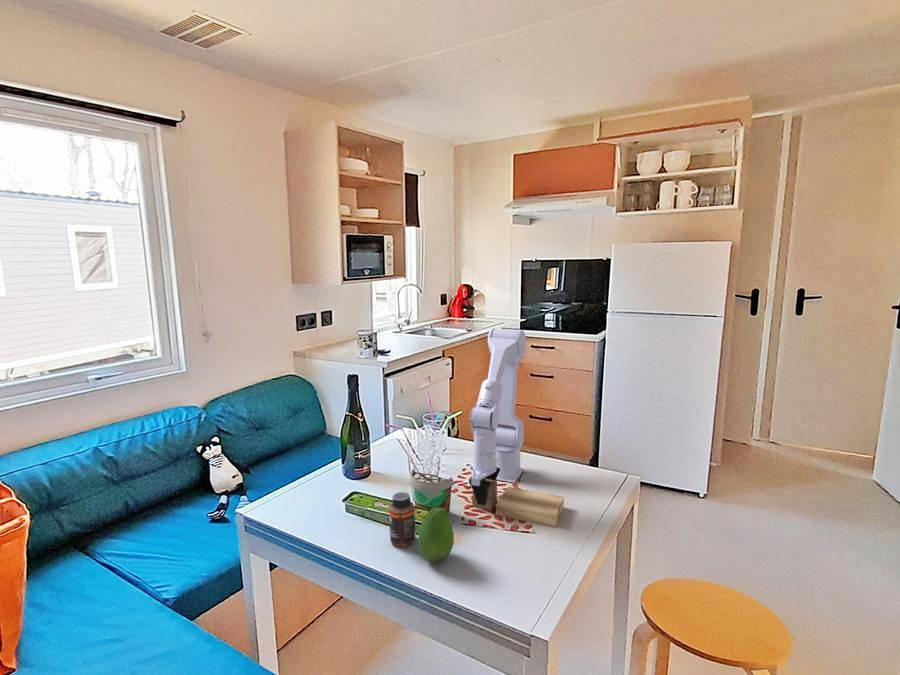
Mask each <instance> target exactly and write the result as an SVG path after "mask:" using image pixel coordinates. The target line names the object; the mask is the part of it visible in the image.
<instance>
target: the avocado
mask: <svg viewBox="0 0 900 675" xmlns="http://www.w3.org/2000/svg"><path fill="white" fill-rule="evenodd" d="M423 518H424V519H423V520H422V522H421V524H420V527H419V530H418V536H417V537H418V546H419V550H420V553H421V555H422V557H423V558H424V559H426V561H428V562H432V563H438V562H442V561H444V560H445V559H447V558H448V557H449V555H450V554H451V552H452V549H453V548H454V542H455V541H454V537H455V535H454V534H455V533H454V529H453V526H452V521H451V519H450V518H451V517H450V515H449V513H447V511H446V510H445V509H444V508H432V509H431V510H429V511H428V513H427V514H426V516H425V517H423Z"/></svg>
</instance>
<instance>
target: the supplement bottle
mask: <svg viewBox="0 0 900 675" xmlns="http://www.w3.org/2000/svg"><path fill="white" fill-rule="evenodd" d="M415 513H416V509H415V503H413V502H412V501H411V495H410V494H409V493H408V492H405V491H399V492H395V493H394V494H393V495H392V502H391V503H390V504H389V506H388V516H389V517H388V520H389V537H390V538H389V539H390V543H391V544H392V545H393V546H394V547H398V548H406V547H410V546H411V545H413V544H414V542H415V541H416V536H417V535H416V514H415Z"/></svg>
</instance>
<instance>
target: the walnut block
mask: <svg viewBox="0 0 900 675" xmlns="http://www.w3.org/2000/svg"><path fill="white" fill-rule="evenodd" d="M484 479H485V478H484ZM485 481H490V482H491V484H490V486H489V489H488V493H487V500H486V504H485V505H479V504H477V501H476V497H475V494H474V491H473V490H472V508H477V509H481V510H487V511H492V510H493V508H494V507H495V505H496V504H497V502H498V480H491V479H485Z"/></svg>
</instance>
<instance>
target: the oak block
mask: <svg viewBox="0 0 900 675" xmlns="http://www.w3.org/2000/svg"><path fill="white" fill-rule="evenodd" d="M564 499H565V496H560V495H556V494H555V495H554V494H550V493H545V492H539V491H534V490H528V489H524V488H517V487H512V486H507V488H506V489H505V491H504V492H503V493H502V495H501V496H500V498H499V499H498V500H497V502H496V504H495V505H496V510H495V511H496V512H495V513H496V514H495V516H498V517H499V516H500V517H505V518H509V519H515V520H519V521H523V522H529V523H532V524H533V523H534V524H537V525H543V526H546V527H547V526H548V527H552V528H556V527H557V524H558V521H559V519H560V517H561V514H562V512H563V509H564Z"/></svg>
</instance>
